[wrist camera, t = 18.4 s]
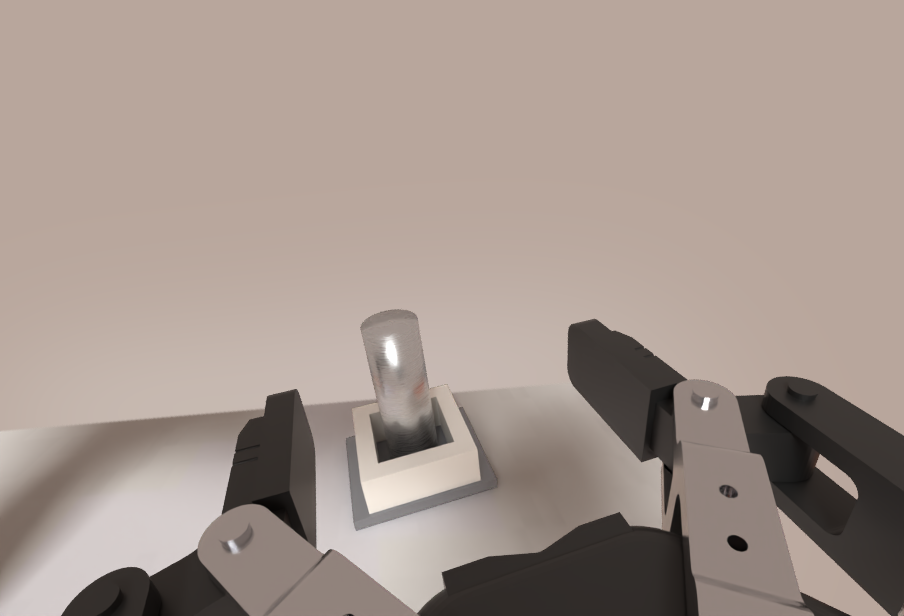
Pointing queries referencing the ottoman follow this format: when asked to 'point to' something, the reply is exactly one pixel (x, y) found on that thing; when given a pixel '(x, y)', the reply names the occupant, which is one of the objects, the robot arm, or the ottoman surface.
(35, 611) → the ottoman surface
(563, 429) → the ottoman surface
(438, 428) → the dock
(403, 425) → the silver metal cylinder
